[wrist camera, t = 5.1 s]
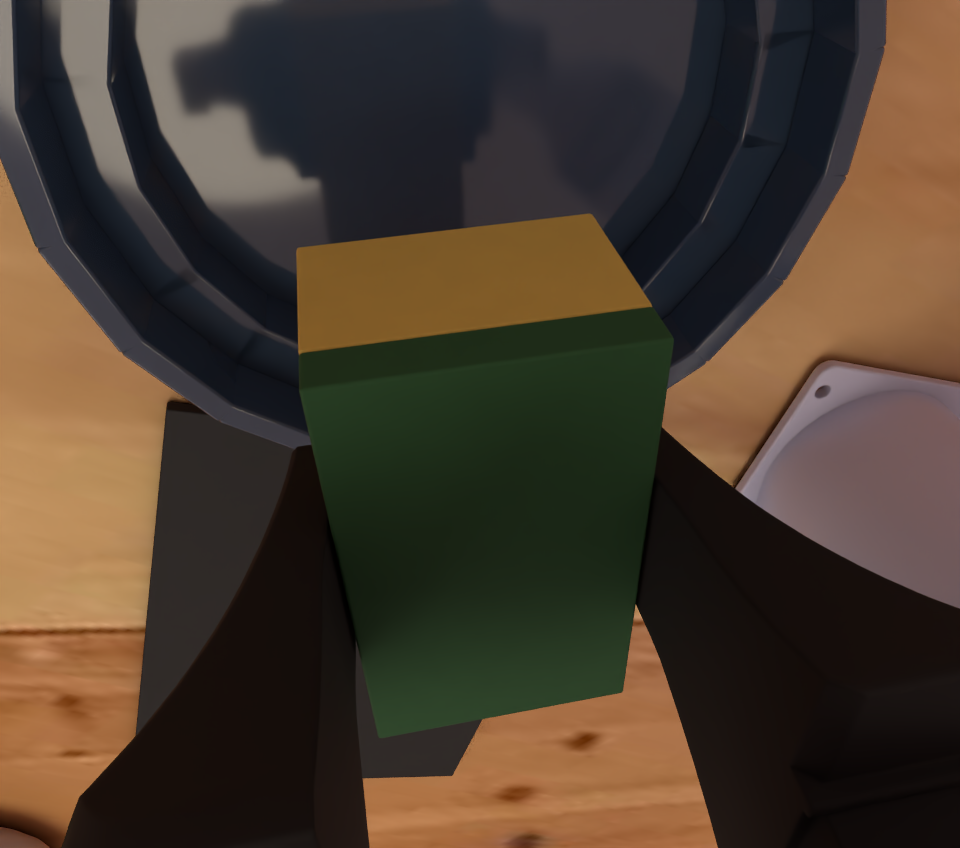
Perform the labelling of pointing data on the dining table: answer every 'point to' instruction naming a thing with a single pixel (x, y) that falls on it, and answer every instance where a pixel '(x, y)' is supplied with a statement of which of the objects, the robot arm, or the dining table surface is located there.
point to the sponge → (483, 459)
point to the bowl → (414, 154)
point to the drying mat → (240, 576)
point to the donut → (18, 840)
